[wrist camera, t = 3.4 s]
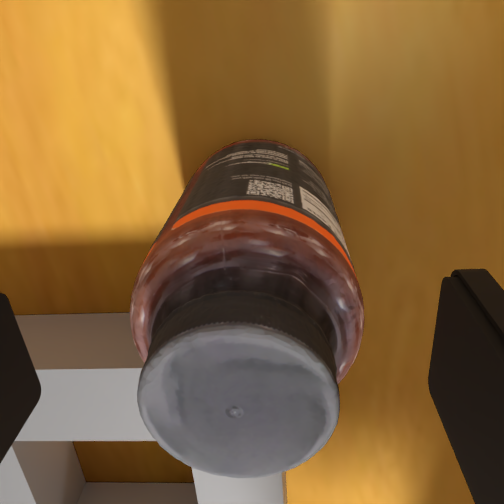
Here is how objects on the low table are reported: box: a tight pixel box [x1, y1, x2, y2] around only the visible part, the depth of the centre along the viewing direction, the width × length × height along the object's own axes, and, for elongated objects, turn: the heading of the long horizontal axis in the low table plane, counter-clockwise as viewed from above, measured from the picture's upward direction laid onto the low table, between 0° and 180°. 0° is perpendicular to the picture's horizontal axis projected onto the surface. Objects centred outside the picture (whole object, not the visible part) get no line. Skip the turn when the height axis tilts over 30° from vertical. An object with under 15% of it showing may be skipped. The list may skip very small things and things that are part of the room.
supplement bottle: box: [130, 140, 364, 478], centre depth 14 cm, size 6×6×11 cm
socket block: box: [0, 312, 287, 504], centre depth 23 cm, size 16×16×4 cm
